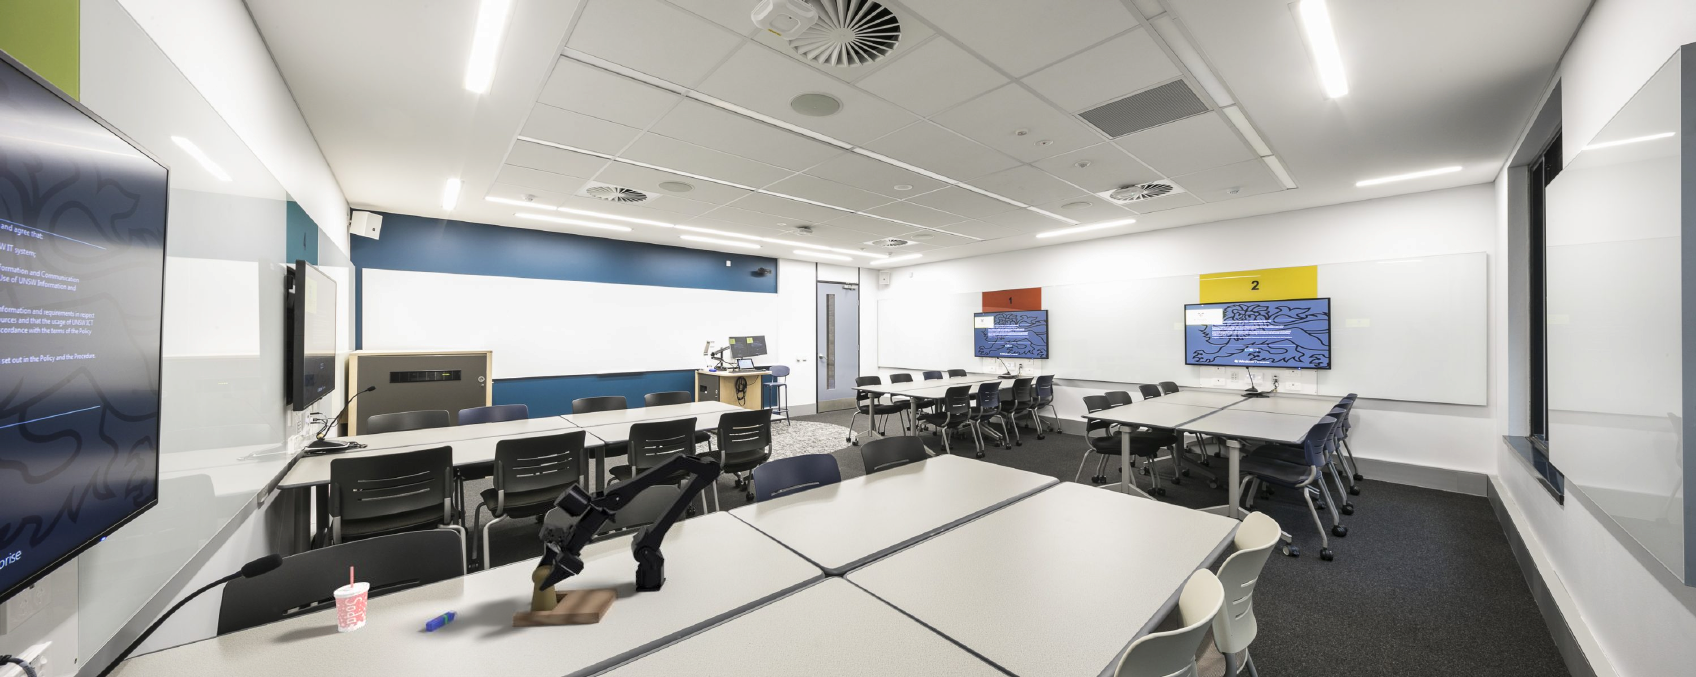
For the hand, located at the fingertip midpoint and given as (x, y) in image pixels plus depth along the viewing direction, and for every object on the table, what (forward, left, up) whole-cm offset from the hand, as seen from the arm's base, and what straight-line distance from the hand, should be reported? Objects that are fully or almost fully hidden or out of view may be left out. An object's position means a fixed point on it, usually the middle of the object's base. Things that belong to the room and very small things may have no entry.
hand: (536, 583), depth 128 cm
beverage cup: (+40, +2, -8) cm, 41 cm away
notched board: (-7, -1, -8) cm, 10 cm away
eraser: (+20, +3, -8) cm, 22 cm away
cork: (-1, -1, -8) cm, 8 cm away
